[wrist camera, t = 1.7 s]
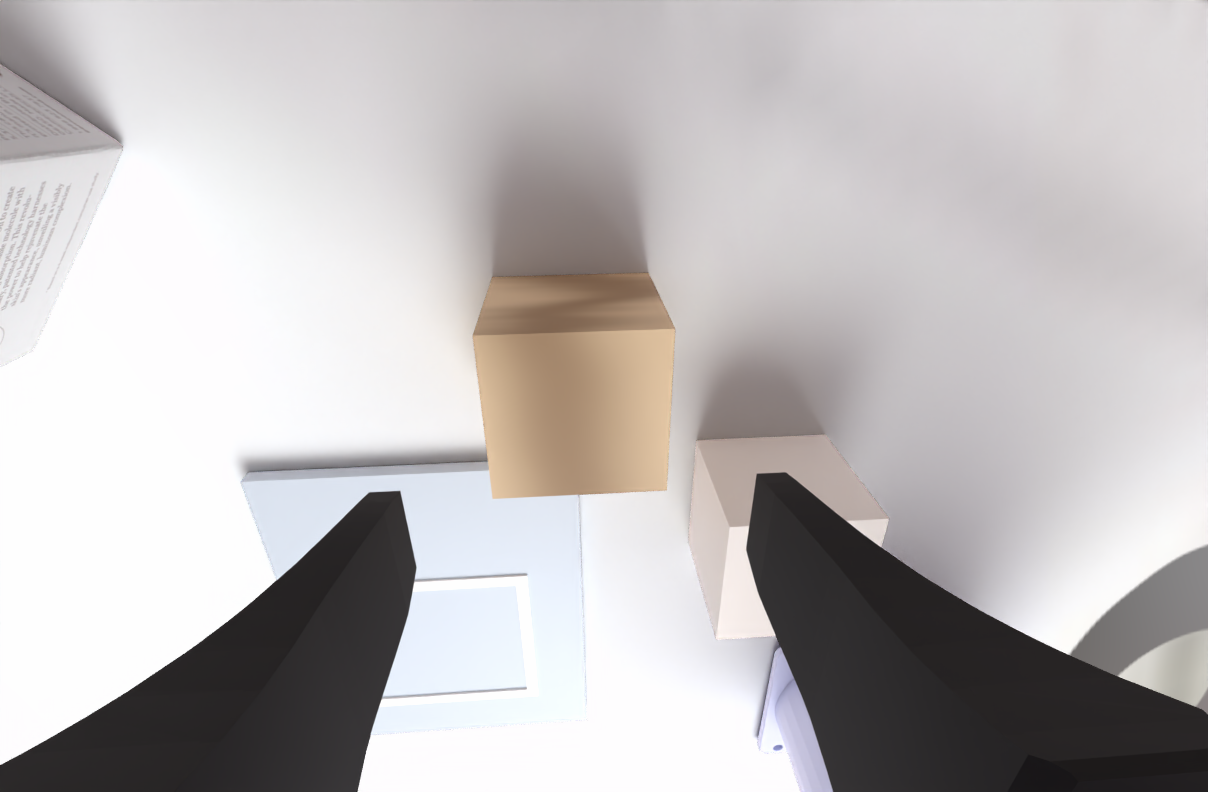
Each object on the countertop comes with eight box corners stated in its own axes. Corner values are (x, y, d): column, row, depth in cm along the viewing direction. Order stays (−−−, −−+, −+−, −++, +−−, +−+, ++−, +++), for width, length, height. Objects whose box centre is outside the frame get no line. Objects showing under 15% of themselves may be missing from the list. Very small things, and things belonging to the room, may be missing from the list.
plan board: (577, 457, 22) (577, 467, 21) (586, 708, 29) (586, 721, 29) (248, 471, 21) (239, 483, 21) (339, 725, 28) (334, 739, 28)
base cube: (648, 271, 19) (674, 329, 15) (644, 406, 21) (666, 490, 17) (492, 276, 19) (472, 335, 14) (506, 412, 21) (492, 499, 17)
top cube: (824, 433, 22) (889, 518, 18) (804, 533, 25) (857, 630, 20) (695, 439, 22) (729, 527, 18) (687, 540, 25) (716, 639, 20)
